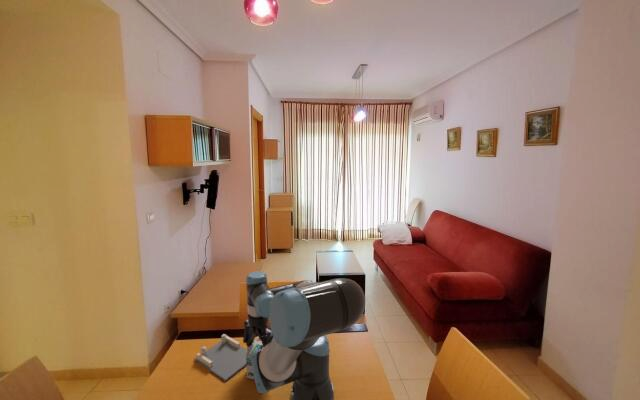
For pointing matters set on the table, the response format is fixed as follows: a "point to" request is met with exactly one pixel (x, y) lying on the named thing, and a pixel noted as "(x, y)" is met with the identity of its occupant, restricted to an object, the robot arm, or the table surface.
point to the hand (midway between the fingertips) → (260, 364)
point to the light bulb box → (253, 349)
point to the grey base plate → (223, 358)
